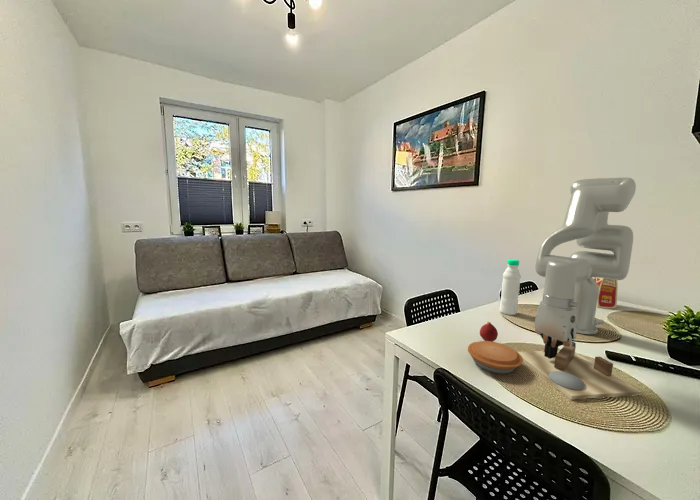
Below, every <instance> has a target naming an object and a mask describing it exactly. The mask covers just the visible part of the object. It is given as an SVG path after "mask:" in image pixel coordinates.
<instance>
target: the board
mask: <svg viewBox="0 0 700 500" xmlns="http://www.w3.org/2000/svg"><path fill="white" fill-rule="evenodd" d="M560 350H561V349H558V352H559V351H560ZM517 352H518V353H519V354H520V355H521V356H522V358H523V362H522V363H523V364H525V365H526V366H527V367H529V368H530V369H531V370H532V371H533V372H535V374H537V375H539V376H540V377H541V378H543V379H544V380H545V381H546V382H548V383H549V385H551V386H553V387H554V388H555V389H556V390H558V392H560V393H561V394H563V396H565V397H567V398H568V399H569V400H570V401H576V400H575V399H580V400H587V399H586V398H596V399H604V398H603V397H613V398H620V397H619V396H629V397H633V396H632V395H641V396H642V391H641V390H639V389H637V388H636V387H634V386H633V385H631V384H629V383H627V382H626V381H624V380H622V379H620V378H619V377H617V376H616V375H614V374H611V376H605V375H603V374H602V373H600V372H599V371H597V370H595V369H594V362H592V361H590V360H589V359H587V358H586V357H583V356H582V355H580V354H578V353H577V352H575V354H574V358H573V359H572V360H571V362H570V363H569V364H568V366H567V367H566V368H565V370H564V371H563V370H560V369H558V368H555V367H554V364H555V357H554V358H551V359H549V358H548V357H545V356H544V355H545V352H544V350H529V351H527V350H525V351H517ZM558 352H557V353H558ZM553 371H561V372H565V373H569V374H571V375H574V376H576V377H578V378H579V379H581V380H582V381H583V382H584V384H585V388H584V389H582V390H572V389H568V388H565V387H562V386H560V385H558V384H556V383H554V382H553V381H552V380H551V379H550V378H549V373H550V372H553Z"/></svg>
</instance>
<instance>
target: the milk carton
mask: <svg viewBox="0 0 700 500" xmlns="http://www.w3.org/2000/svg"><path fill="white" fill-rule="evenodd" d="M593 279H594V280H595V282H596V283H597V285H598V287H599V294H598V300H597V306H596V309H610V310H611V309H614V310H615V309H617V302H618V287H619V286H618V285H619V284H618V280H611V279H605V278H598V277H593Z"/></svg>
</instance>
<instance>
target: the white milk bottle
mask: <svg viewBox="0 0 700 500" xmlns="http://www.w3.org/2000/svg"><path fill="white" fill-rule="evenodd" d="M506 265H507V267H506V268H505V270H504V272H503V273H502V283H501V296H500V299H499V300H500V301H499V302H500V305H499V312H500V313H502V314H504V315H508V316H515V315H517V313H518V312H517V311H518V303H519V299H518V298H519V294H520V283H521V277H522V275H521V273H520V269H519V268H518V267H519V266H520V261H519V260H518V259H515V258H514V259H513V258H510V259H507V261H506Z"/></svg>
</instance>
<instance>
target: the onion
mask: <svg viewBox="0 0 700 500" xmlns="http://www.w3.org/2000/svg"><path fill="white" fill-rule="evenodd" d="M498 333H499V332H498V330H497V328H496V327H495V326H494V325H493V324H492V323H491V322H490V321H487V323H485V324H483V325H482V326H481V327H480V329H479V335H480V338H482V340H483V341H491V342H495V341H496V340H497V339H498V336H499V335H498Z"/></svg>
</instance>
